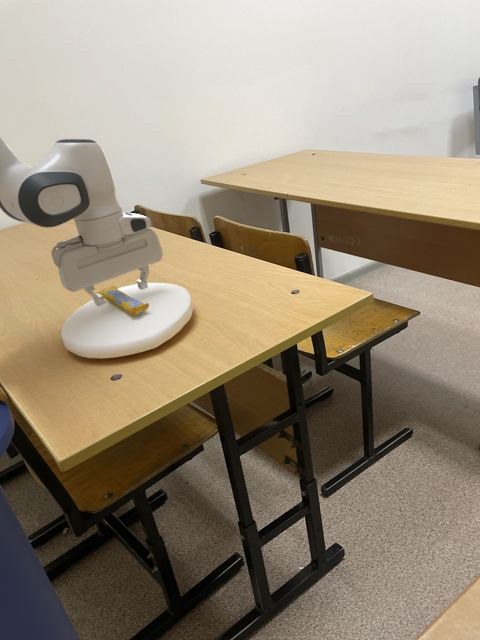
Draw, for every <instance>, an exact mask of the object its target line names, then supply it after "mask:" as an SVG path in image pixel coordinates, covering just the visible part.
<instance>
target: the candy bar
mask: <svg viewBox="0 0 480 640" xmlns="http://www.w3.org/2000/svg"><path fill="white" fill-rule="evenodd" d="M96 294H97V295H98V294H100V295H102V296H103V298H105V299H106V300H108V301H109V302H111V303H112V304H114V305H116V306H117V307H119V308H121V309H123V310H125V311H127V312H128V313H130V314H132V315H137V314H139V313H141V312H143V311H145V310H147V308H148V307H149V304H148V303H146V304H143V303H141V302H139V301H137V300H135V299H134V298H132V297H130V296H128V295H126V294H125V293H123V292H121V291H120V290H118V287H117V286H116V285H111V286H108V287H106V288H104V289H101V290H99V291H97V292H96Z"/></svg>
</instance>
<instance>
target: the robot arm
mask: <svg viewBox="0 0 480 640" xmlns="http://www.w3.org/2000/svg"><path fill="white" fill-rule="evenodd" d="M0 210H1V211H2V212H3V213H4V214H5V215H6V216H8V217H9V218H11V219H13V220H15V221H17V222H18V221H19V222H22V223H27V224H31V225H33V226H36V227H40V228H48V229H49V228H55V227H58V226H61V225H63V224H65V223H67V222H69V221H72V220H73V221H74V224H75V226H76V230H77V233H78V235H77V236H74V237H72V238H69V239H66V240H63V241H59V242H57V243H56V245H55V246H53V248H52V249H51V259H52V261H53V264H54V265H55V266H56V267H57V269H58V274H59V275H58V276H59V279H60V283H61V285H62V287H63V288H64V289H66V291H69V292H71V293H75V292H78V291H81V290H84V291H85V292H86V293H87V294H88V295H89V296H90V297H92V300H93V299H94V302H95V304H96V305H97V306H100V305H103V304H105V301H103V300H104V298H103V296H102V295H100V294H98V293H95V292H94V291H95V290H96V289H95V285H97V284H100V283H103V282H106V281H109V280H111V279H114V278H117V277H121V276H123V275H125V274H128V273H129V274H130V273H131V272H134V271H136V270H138V271H139V272H140V275H139V279H136V284H138V288H139V289H141V290H142V289H145V288H148V285H147V283H148V281H147V280H148V276H149V273H150V268H149V266H151V265H154V264H156V263H160V262H161V261H162V260H163V256H164V253H163V249H162V246H161V243H160V239H159V237H158V234H157V233H156V231H155V230H154V229H153V228H151V227H152V223H151V221H152V220H151V219H150V217H148V216H145V215H143V214H140V213H131V212H123V209H122V205H121V203H120V202H119V200H118V198H117V196H116V183H115V180H114V176H113V173H112V170H111V166H110V163H109V161H108V158H107V156H106V154H105V150H104V149H103V148H102V146H101V144H99V143H98V142H97V141H95V140H93V139H89V138H88V139H87V138H63V139H58V140H57V141H55V142H54V144H53V146H52V148H51V149H50V150H49V151H48V152H47V153H46V155H45V156H44V157H43V158H42V159H41V160H40V161H38V162H36V164H34V165H33V166H31V165H29V164H27V163H26V162H24V161H23V160H21V159H20V158H19V157H18V156H17V155H16V154H15V153H14V152H13V150H12V149H11V147H10V146H9V145H8V144H7V142H6V141H5V140H4V139H3V138H2V136H1V135H0Z"/></svg>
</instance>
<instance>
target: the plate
mask: <svg viewBox="0 0 480 640" xmlns="http://www.w3.org/2000/svg"><path fill="white" fill-rule="evenodd" d="M147 285H148V288H145V289H142V290H141V289H139V288H138V284H137V283H134V284H130V285H126V286H121V287H119V288H118V287H117V289H118V290H120V291H121V292H123V293H125V294H126V295H128V296H130V297H132V298H134V299H135V300H137V301H139V302H141V303H143V304H146V303H148V304H149V307H148V308H147V310H145V311H143V312H141V313H139V314H137V315H132V314H130V313H128V312H127V311H125V310H123V309H121V308H119V307H117V306H116V305H114V304H112V303H111V302H109V301H108V300H106V299H105V298H104V300H103V301H105V304H103V305H100V306H97V305H96V304H95V302H94V299H93V298H92V299H91V300H89V301H88V302H86V303H85V304H83V305H81V306H80V307H79V308H77V309H76V310H74V311H73V312H72V313H71V314H70V315H68V317H67V318H66V319H65V322H63V325H62V326H61V330H60V337H61V341H62V343H63V347H64V348H65V350H67V351H68V352H71V353H73V354H75V355H76V356H78V357H82V358H88V359H110V358H112V359H113V358H120V357H125V356H131V355H135V354H140V353H144V352H147V351H150V350H154V349H156V348H158V347H159V346H161V345H163V344H164V343H166V342H168V340H170V339H171V338H173V337H174V336H175V335H176V334H178V333H179V332H180V331H181V330H182V329H183V328H184V327H185V325H187V323H188V322H189V321H190V320H191V317H192V315H193V310H194V300H193V298H192V295H191V294H190V292H189V290H187V289H186V288H185V287H183V286H180V285H178V284H174V283H168V282H147Z"/></svg>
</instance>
